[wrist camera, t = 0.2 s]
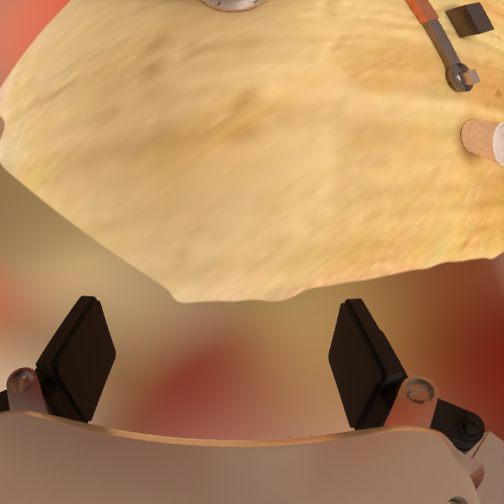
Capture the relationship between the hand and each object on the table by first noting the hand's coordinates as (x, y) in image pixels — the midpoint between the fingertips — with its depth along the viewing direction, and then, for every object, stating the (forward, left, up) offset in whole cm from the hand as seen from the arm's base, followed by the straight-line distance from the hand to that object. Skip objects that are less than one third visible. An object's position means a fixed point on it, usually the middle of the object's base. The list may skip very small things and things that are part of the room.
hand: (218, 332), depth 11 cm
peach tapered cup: (+17, +44, -37) cm, 60 cm away
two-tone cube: (-5, +56, -37) cm, 67 cm away
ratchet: (-3, +46, -37) cm, 59 cm away
